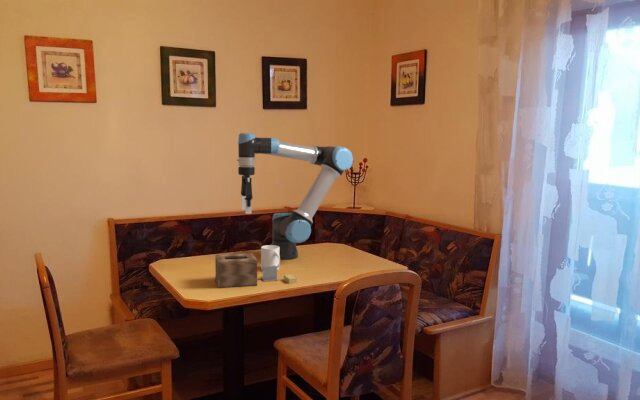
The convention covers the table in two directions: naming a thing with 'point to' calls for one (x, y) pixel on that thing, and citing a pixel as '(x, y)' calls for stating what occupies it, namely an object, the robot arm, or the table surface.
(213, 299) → the table surface
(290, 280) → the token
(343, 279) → the table surface
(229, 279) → the coin box
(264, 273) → the stand
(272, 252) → the white rounded piece
